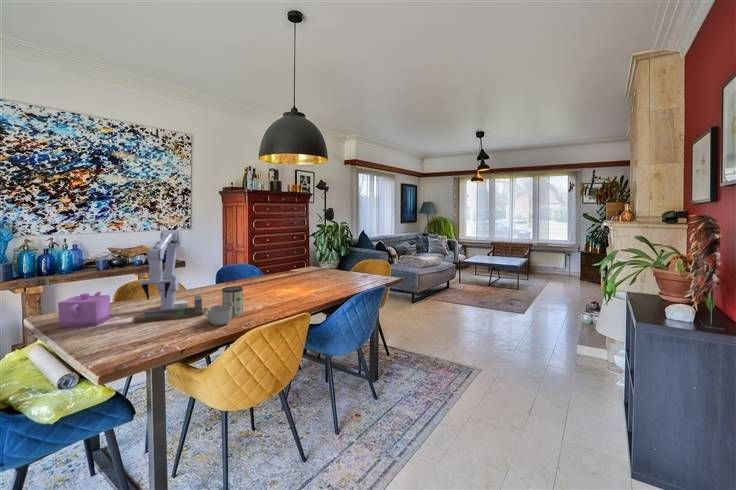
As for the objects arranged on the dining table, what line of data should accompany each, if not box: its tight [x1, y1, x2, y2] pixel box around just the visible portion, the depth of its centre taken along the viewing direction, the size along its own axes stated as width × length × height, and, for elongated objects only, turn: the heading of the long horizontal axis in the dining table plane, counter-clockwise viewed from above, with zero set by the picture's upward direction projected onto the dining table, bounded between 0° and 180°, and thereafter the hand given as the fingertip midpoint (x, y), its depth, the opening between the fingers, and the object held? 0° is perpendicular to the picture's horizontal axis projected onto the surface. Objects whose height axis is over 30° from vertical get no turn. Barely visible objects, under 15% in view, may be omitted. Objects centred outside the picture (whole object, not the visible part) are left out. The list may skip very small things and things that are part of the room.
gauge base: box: [134, 294, 204, 324], centre depth 185 cm, size 12×30×8 cm, turn 119°
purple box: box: [57, 291, 112, 328], centre depth 173 cm, size 15×25×14 cm, turn 11°
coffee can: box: [221, 286, 244, 318], centre depth 190 cm, size 10×10×14 cm
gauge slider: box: [173, 300, 188, 309], centre depth 186 cm, size 9×6×5 cm
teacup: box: [202, 304, 232, 327], centre depth 175 cm, size 14×11×8 cm
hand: (156, 298), depth 184 cm, fingers open, 7 cm apart
